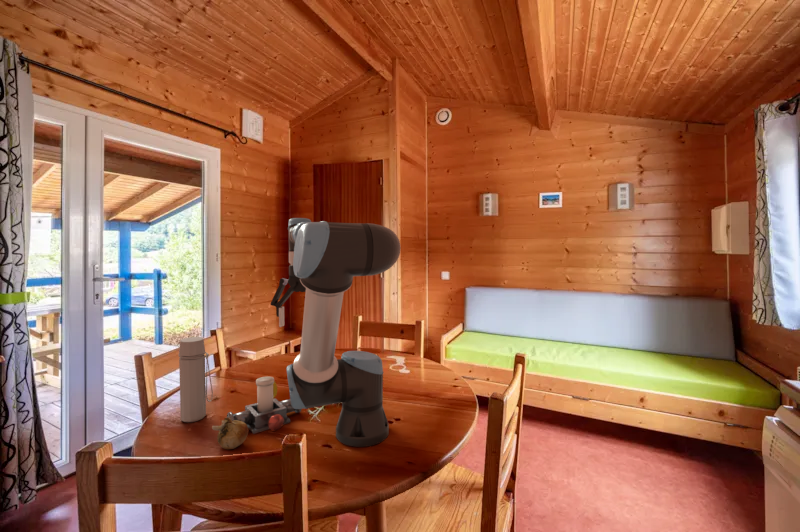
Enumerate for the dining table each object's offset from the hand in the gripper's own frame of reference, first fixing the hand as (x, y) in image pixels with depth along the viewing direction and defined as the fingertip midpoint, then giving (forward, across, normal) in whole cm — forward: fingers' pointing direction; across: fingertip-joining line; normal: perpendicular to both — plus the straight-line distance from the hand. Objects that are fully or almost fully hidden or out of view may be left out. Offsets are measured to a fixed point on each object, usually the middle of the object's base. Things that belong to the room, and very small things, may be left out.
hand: (301, 326), depth 124 cm
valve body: (+27, +5, +15) cm, 31 cm away
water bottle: (+27, +29, +13) cm, 42 cm away
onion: (+27, +9, +28) cm, 40 cm away
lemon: (+27, +12, -1) cm, 29 cm away
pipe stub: (+26, +7, +13) cm, 30 cm away
